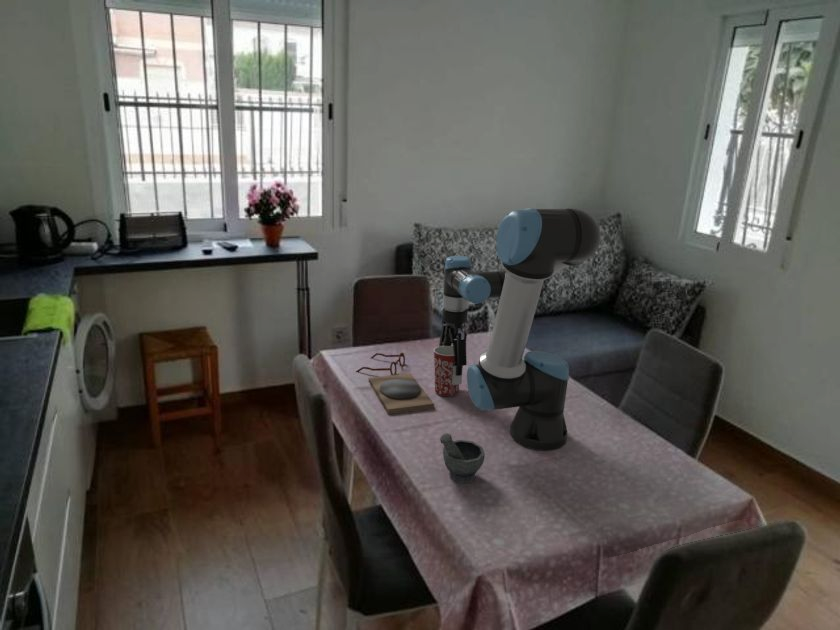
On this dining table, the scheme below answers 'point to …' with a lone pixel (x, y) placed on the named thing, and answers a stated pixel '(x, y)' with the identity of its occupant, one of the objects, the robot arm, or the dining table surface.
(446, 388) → the mug
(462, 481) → the mortar and pestle
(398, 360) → the glasses
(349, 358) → the dining table surface
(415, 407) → the board
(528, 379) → the robot arm
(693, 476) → the dining table surface
